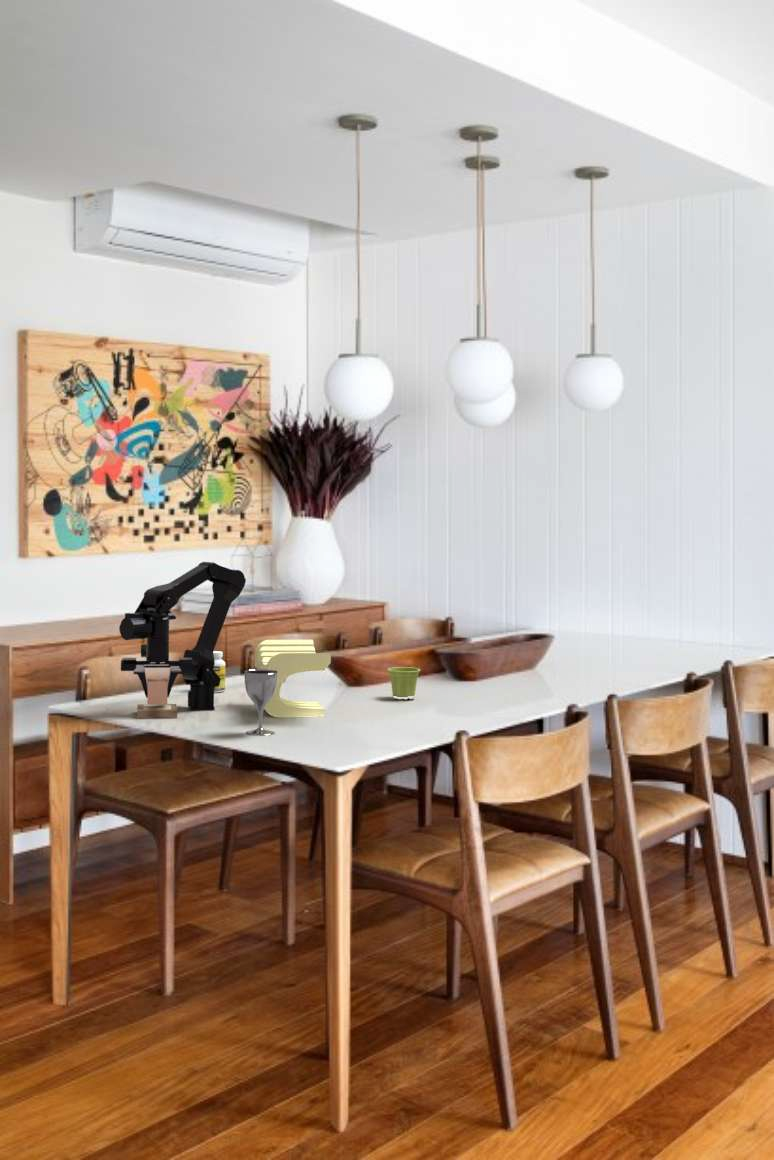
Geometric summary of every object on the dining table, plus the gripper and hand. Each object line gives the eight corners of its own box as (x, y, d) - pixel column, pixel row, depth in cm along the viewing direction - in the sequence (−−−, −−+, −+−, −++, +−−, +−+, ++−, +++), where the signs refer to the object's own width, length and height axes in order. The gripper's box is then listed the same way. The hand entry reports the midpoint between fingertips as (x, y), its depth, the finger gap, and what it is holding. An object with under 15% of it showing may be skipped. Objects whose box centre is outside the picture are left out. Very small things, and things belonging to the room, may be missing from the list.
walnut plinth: (175, 711, 342) (176, 703, 342) (177, 718, 332) (177, 709, 332) (137, 711, 340) (137, 703, 340) (137, 718, 330) (137, 710, 330)
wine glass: (277, 730, 318) (278, 669, 317) (275, 736, 310) (276, 673, 309) (245, 729, 318) (245, 668, 317) (242, 735, 310) (243, 673, 309)
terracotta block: (166, 701, 339) (167, 678, 338) (167, 704, 334) (167, 681, 333) (147, 701, 338) (147, 678, 337) (147, 704, 333) (147, 681, 332)
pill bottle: (204, 693, 374) (204, 653, 373) (201, 690, 380) (201, 650, 379) (226, 693, 376) (227, 653, 375) (223, 689, 382) (223, 650, 381)
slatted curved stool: (254, 704, 357) (255, 639, 356) (311, 703, 360) (312, 639, 359) (267, 723, 328) (268, 653, 327) (329, 722, 331) (330, 652, 330)
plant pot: (383, 700, 368) (384, 670, 367) (391, 695, 377) (392, 666, 376) (415, 702, 366) (416, 672, 365) (422, 697, 375) (423, 667, 374)
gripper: (192, 634, 344) (192, 692, 345) (121, 634, 341) (120, 692, 342) (194, 638, 333) (194, 698, 334) (120, 638, 330) (120, 699, 331)
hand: (157, 697), depth 336 cm, fingers closed on terracotta block, 5 cm apart
